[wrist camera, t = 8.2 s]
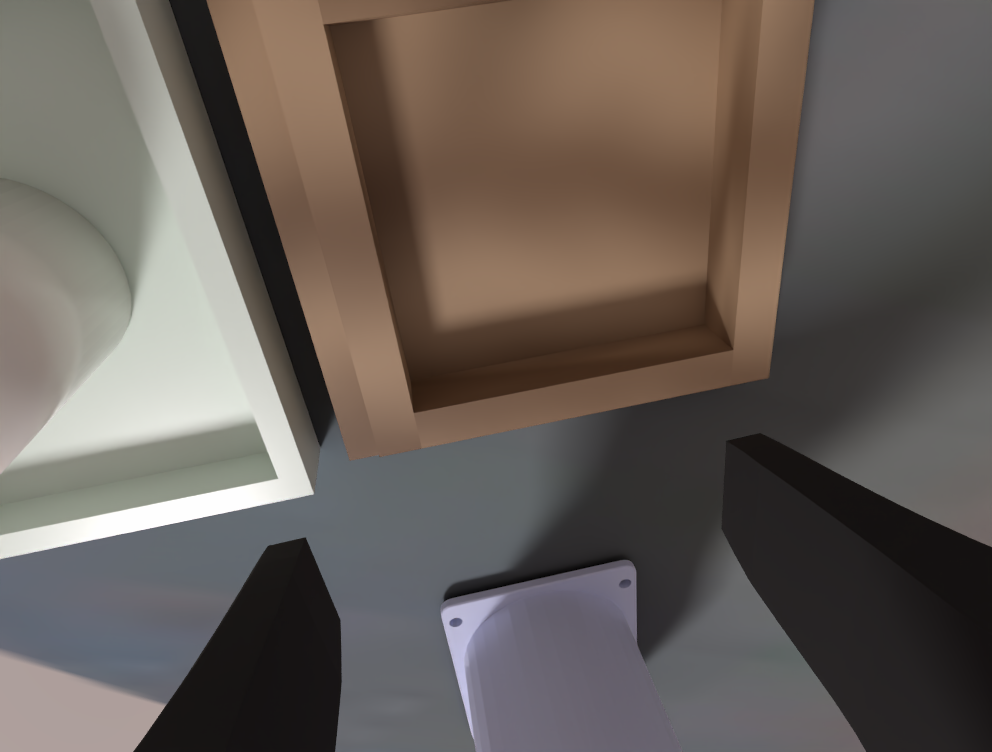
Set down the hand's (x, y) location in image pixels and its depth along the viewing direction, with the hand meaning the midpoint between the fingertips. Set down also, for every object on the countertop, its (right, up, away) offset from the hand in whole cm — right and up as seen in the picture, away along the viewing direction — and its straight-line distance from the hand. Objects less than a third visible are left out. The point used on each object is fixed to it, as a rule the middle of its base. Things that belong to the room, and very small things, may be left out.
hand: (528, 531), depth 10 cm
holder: (+1, +8, +7) cm, 10 cm away
